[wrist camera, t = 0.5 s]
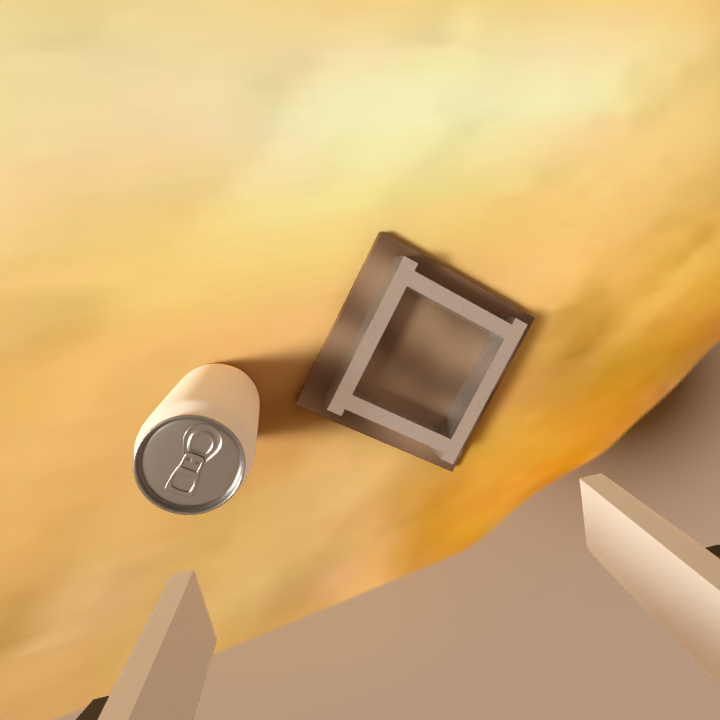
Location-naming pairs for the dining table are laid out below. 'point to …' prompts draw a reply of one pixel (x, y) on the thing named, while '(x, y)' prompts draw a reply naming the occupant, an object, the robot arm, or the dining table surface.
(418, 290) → the grey hollow square frame
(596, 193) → the dining table surface
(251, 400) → the can
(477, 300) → the collar base
